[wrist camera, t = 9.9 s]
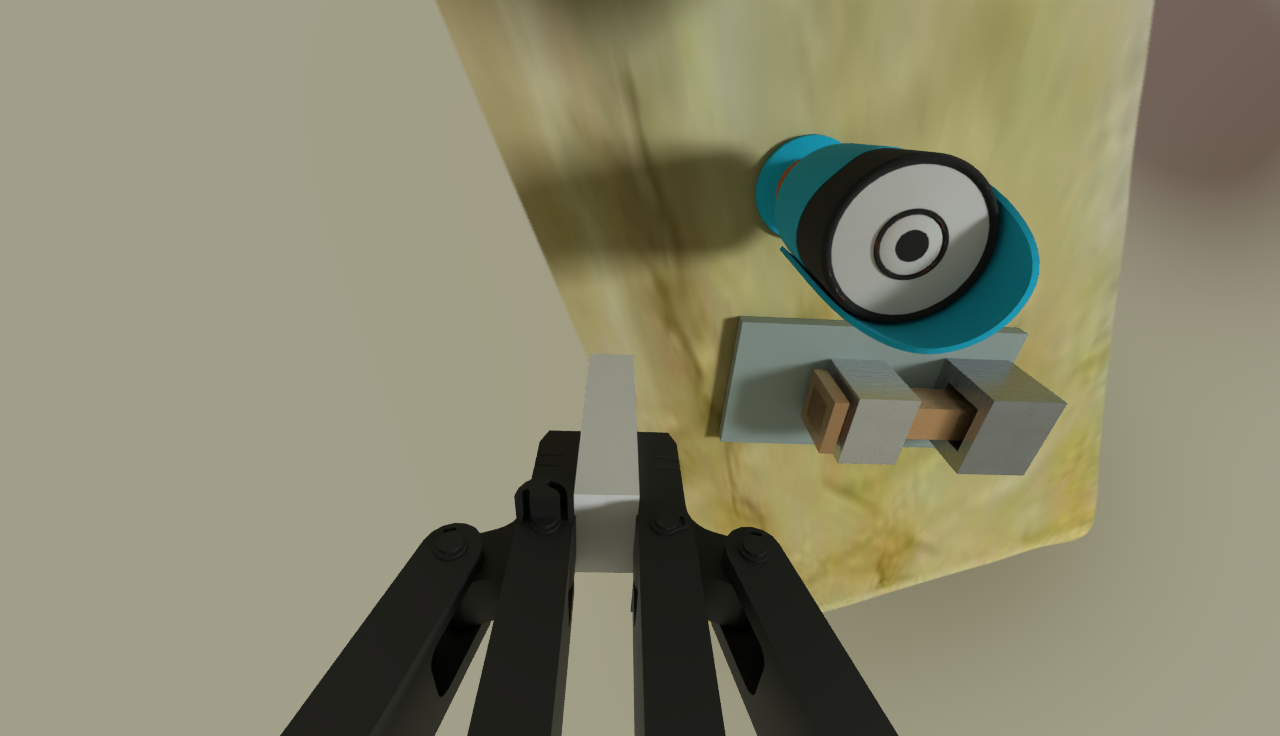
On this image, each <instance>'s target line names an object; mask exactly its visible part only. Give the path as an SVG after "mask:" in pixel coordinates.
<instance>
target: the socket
mask: <svg viewBox="0 0 1280 736" xmlns="http://www.w3.org/2000/svg"><path fill="white" fill-rule="evenodd" d="M933 389H951V390H958V391H959V392H960V393H961V394H962V395H963V396H964V397H965V398H966V399H967V400H968V401H969V402H970V403H971V404H972V405H973V406H975V407H976V408H977V409H978V412H977V414H976V416H975V418H974V420H973V422H972V424H971V426H970V428H969V430H968V432H967V434H966V436H965V438H964V440H963V441H958V440H929V441H930V442H931V443H932V444H933V446H934V447H935V448H936V449H937V450H938V452H939V453H940V454H941V455H942V456H943V458H944V459H945V460H946V461H947V462H948V464H949V465H950V466H951V467H952V468H953V470H954V471H955V472H956V473H957V474H986V475H1024V474H1025V472H1026V470H1027V469H1028V467H1029V466H1030V464H1031V462H1032V461H1033V459H1034V457H1035V456H1036V454H1037V452H1038V451H1039V449H1040V447H1041V446H1042V444H1043V443H1044V441H1045V439H1046V438H1047V436H1048V434H1049V433H1050V431H1051V429H1052V428H1053V426H1054V425H1055V423H1056V421H1057V420H1058V418H1059V416H1060V415H1061V413H1062V411H1063V410H1064V408H1065V406H1066V405H1067V403H1066V402H1065V401H1063V400H1062V399H1061V398H1059V397H1058V396H1057V395H1055V394H1054V393H1053V392H1051V391H1050V390H1049V389H1047V388H1046V387H1045V386H1043V385H1042V384H1040V383H1039V382H1038V381H1036V380H1035V379H1034V378H1032V377H1031V376H1030V375H1028V374H1027V373H1026V372H1024V371H1023V370H1022V369H1020V368H1019V367H1018V366H1016V365H1015V364H1014V363H1012V362H1011V361H1009V360H985V359H959V358H946V359H945V361H944V363H943V366H942V368H941V370H940V373H939V375H938V377H937V379H936V382H935V384H934V386H933Z"/></svg>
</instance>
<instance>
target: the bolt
mask: <svg viewBox="0 0 1280 736" xmlns="http://www.w3.org/2000/svg"><path fill="white" fill-rule="evenodd" d="M910 389H911V390H912V391H913V392H914V393H915V394H916V395H917V396H918V397H919V398H920V400H921V401H922V402H921V404H920V407H919V409H918V411H917V414H916V416H915V418H914V421H913V423H912V425H911V428H910V430H909V433H908V435H907V437H906V439H923V440H958V441H963V440H964V438H965V436H966V434H967V432H968V430H969V428H970V426H971V424H972V422H973V420H974V418H975V416H976V414H977V412H978V409H977V408H976V407H975V406H973V405H972V404H971V403H970V402H969V401H968V400H967V399H966V398H965V397H964V396H963V395H962V394H961V393H960V392H959V391H958V390H951V389H922V388H910ZM850 405H851V404H850V402H849V401H848V399H847V398H846V396H845V395H844V394H843V392H842V391H841V389H840V388H839V386H838V385H837V384H836V382H835V381H834V379H833V378H832V376H831V375H830V374H829V372H828V371H827V370H824V369H813V373H812V376H811V380H810V384H809V387H808V391H807V394H806V398H805V401H804V405H803V409H802V412H801V416H800V417H801V419H802V421H803V423H804V425H805V427H806V429H807V431H808V433H809V434H810V436H811V438H812V440H813V442H814V444H815V446H816V448H817V450H818V452H819V453H830V454H833V452H834V449H835V446H836V443H837V440H838V437H840V435H841V432H842V429H843V426H844V423H845V420H846V417H847V414H848V411H849V408H850Z"/></svg>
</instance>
